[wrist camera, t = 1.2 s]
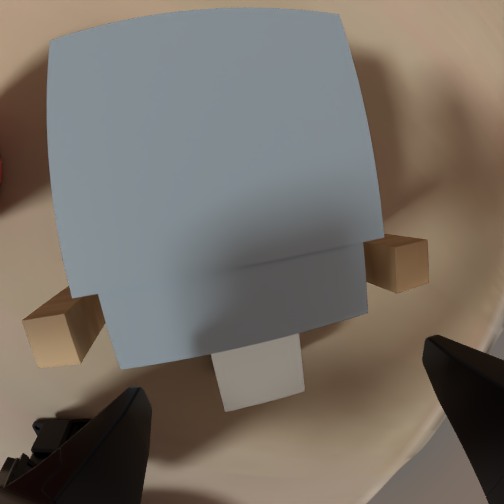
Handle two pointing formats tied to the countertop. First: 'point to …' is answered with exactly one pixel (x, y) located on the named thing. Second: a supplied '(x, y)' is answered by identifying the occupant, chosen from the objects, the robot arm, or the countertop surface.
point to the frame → (92, 321)
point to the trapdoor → (211, 177)
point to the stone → (259, 372)
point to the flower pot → (0, 171)
